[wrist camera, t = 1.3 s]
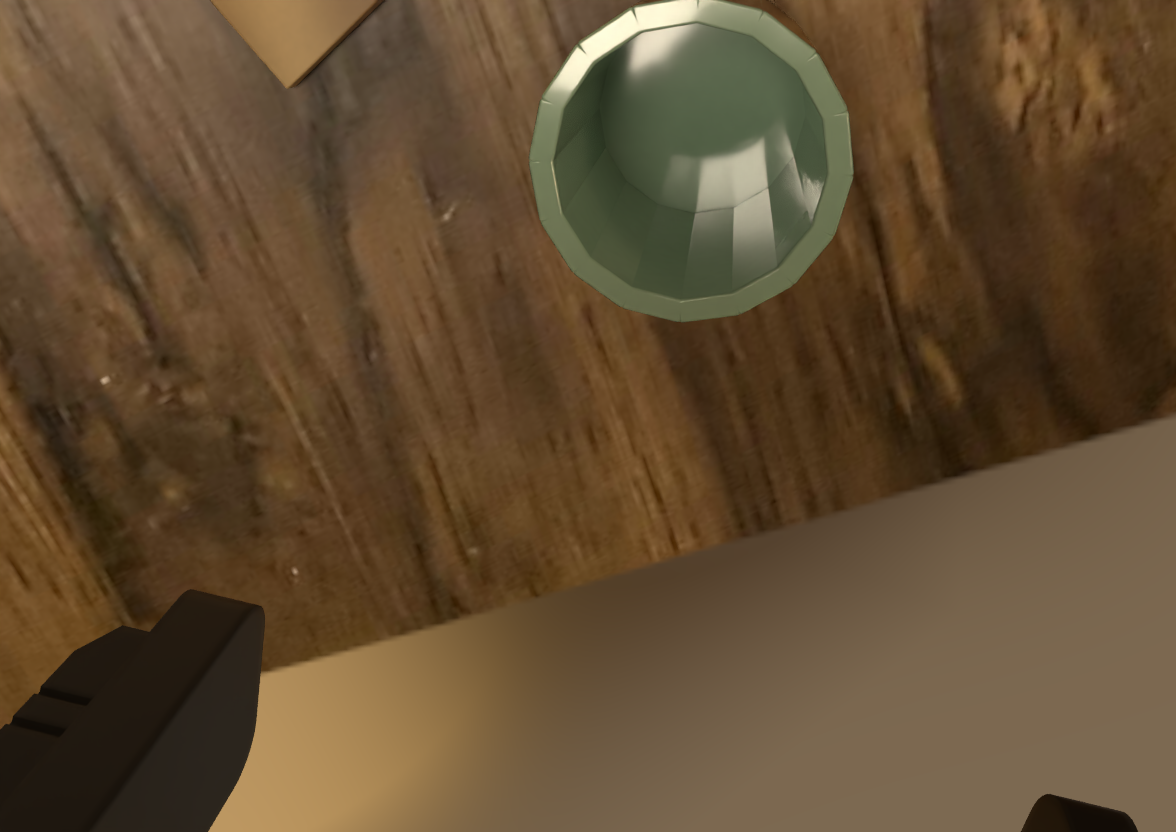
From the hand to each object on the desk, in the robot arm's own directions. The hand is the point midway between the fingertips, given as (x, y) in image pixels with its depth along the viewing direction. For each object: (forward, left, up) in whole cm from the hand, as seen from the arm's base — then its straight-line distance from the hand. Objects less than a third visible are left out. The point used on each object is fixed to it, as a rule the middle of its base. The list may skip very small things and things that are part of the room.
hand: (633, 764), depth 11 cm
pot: (+4, -1, -21) cm, 22 cm away
